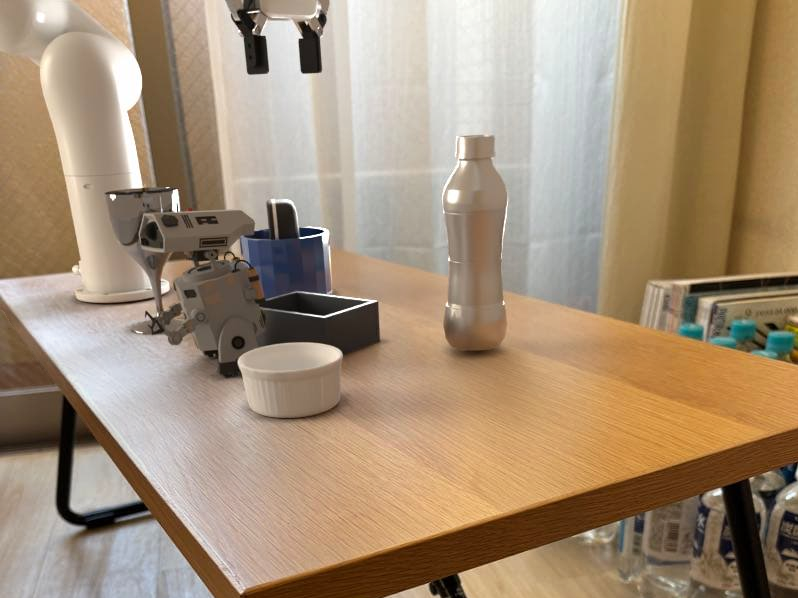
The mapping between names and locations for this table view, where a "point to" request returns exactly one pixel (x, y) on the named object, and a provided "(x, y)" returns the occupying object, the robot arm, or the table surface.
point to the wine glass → (126, 226)
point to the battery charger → (282, 219)
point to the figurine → (209, 283)
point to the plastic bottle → (475, 247)
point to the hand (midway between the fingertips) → (285, 73)
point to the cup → (290, 261)
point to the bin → (320, 321)
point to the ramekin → (292, 379)
